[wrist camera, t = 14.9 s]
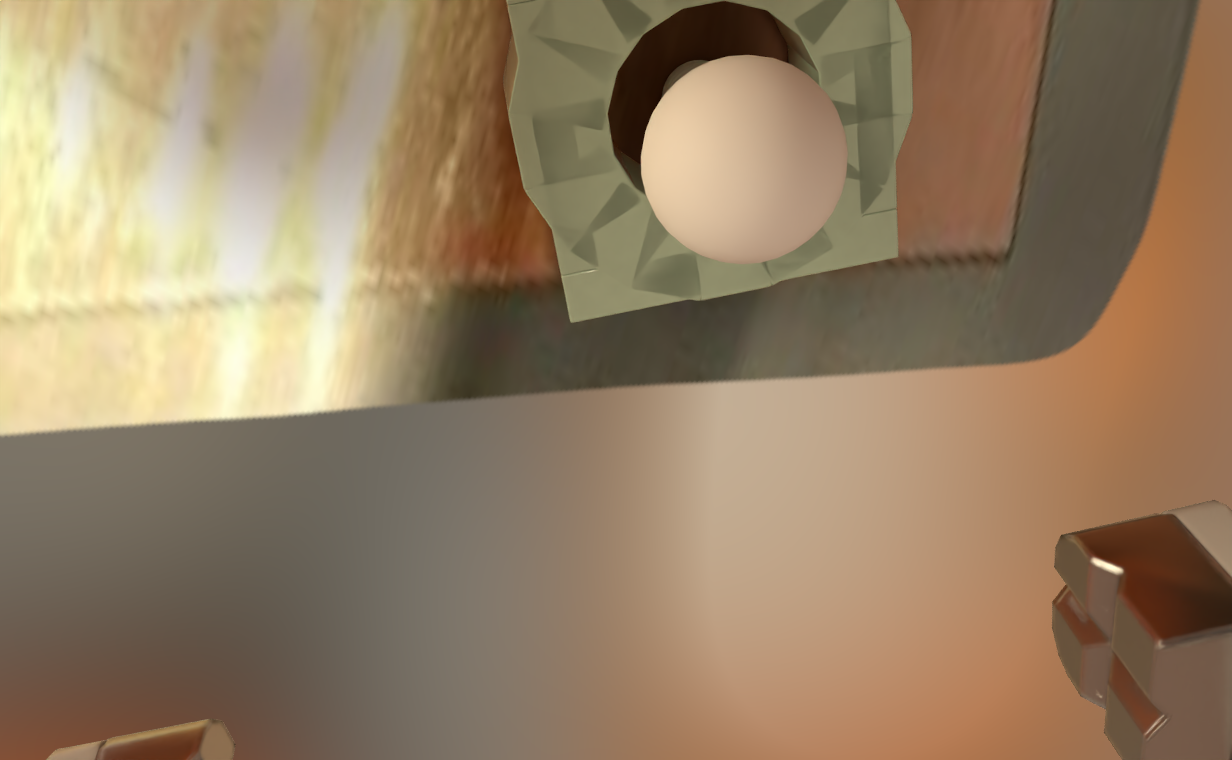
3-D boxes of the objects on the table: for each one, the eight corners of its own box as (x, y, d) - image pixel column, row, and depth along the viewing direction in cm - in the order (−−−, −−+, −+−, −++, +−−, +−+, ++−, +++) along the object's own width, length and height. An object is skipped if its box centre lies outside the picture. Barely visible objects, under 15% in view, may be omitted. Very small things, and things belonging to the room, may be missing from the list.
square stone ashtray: (468, -80, 37) (471, -61, 33) (865, -155, 37) (908, -144, 34) (544, 283, 44) (553, 331, 40) (879, 217, 44) (916, 258, 41)
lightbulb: (808, 92, 41) (917, 199, 32) (681, 203, 43) (749, 337, 33) (704, -38, 38) (790, 37, 29) (572, 85, 40) (613, 195, 30)
